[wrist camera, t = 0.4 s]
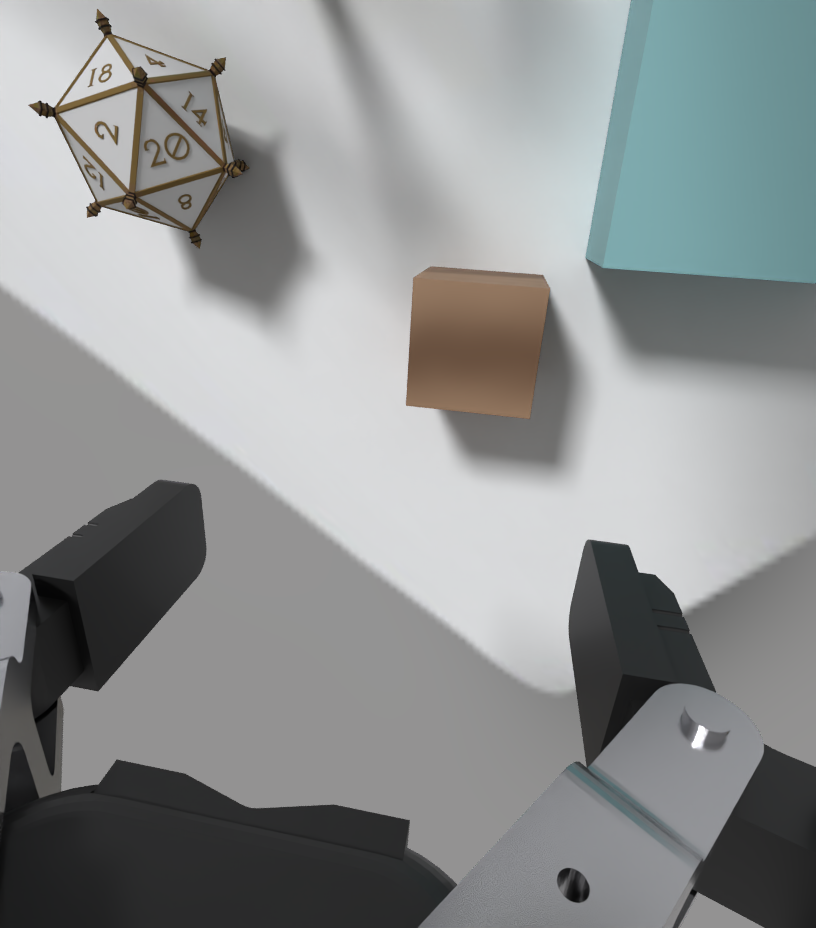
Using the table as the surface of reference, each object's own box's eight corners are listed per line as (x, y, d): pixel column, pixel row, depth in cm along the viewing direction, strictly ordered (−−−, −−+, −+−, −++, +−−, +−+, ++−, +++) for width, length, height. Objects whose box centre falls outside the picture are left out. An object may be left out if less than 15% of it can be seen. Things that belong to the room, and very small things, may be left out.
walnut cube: (430, 266, 31) (413, 277, 25) (542, 275, 30) (550, 288, 24) (423, 374, 33) (405, 405, 28) (526, 384, 32) (529, 418, 27)
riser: (638, -41, 24) (675, -115, 19) (949, -39, 22) (1088, -119, 17) (585, 257, 29) (602, 267, 24) (837, 275, 27) (917, 290, 22)
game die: (237, 119, 33) (241, -29, 23) (258, 266, 33) (271, 179, 23) (62, 110, 30) (-16, -63, 20) (85, 271, 30) (20, 174, 20)
